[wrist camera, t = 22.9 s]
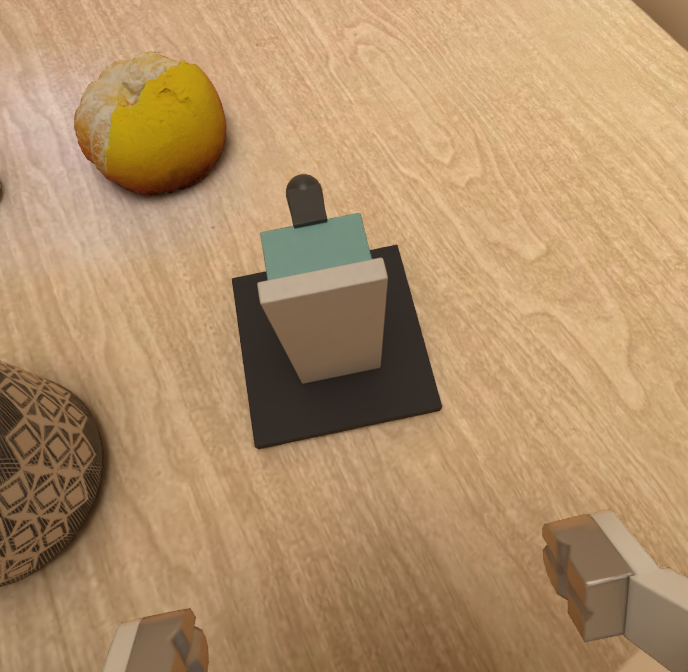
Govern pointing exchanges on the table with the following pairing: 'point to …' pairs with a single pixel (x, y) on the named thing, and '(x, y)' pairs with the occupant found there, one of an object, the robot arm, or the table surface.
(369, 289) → the iron
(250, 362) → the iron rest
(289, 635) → the table surface
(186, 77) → the fruit
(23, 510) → the planter
